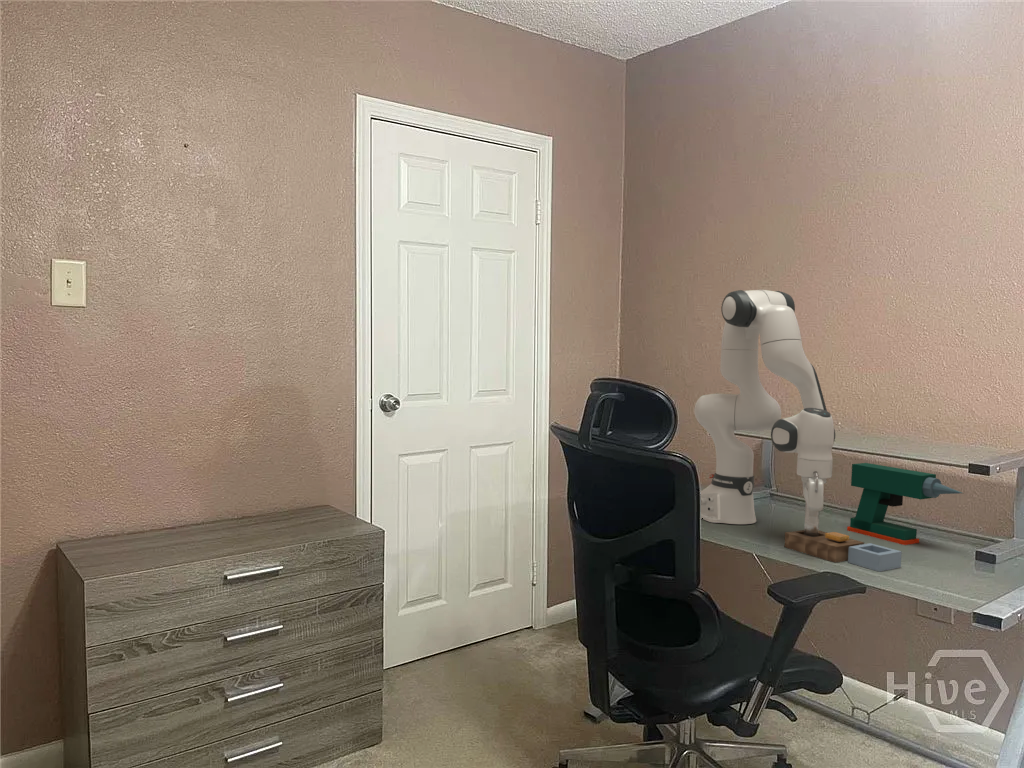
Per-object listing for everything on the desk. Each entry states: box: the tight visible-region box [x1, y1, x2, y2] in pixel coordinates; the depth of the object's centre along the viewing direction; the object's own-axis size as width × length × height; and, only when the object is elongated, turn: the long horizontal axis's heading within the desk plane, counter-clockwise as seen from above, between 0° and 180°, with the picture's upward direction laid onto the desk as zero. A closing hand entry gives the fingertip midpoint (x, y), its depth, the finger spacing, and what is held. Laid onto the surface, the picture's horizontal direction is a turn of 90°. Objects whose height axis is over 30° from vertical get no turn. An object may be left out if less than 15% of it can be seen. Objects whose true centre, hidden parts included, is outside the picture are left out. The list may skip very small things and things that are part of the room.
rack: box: [847, 543, 903, 573], centre depth 193 cm, size 9×9×4 cm
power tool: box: [846, 462, 963, 546], centre depth 217 cm, size 32×7×20 cm, turn 30°
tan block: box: [825, 531, 850, 543], centre depth 200 cm, size 4×4×5 cm
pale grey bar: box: [803, 503, 820, 537], centre depth 207 cm, size 4×4×12 cm
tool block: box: [784, 529, 865, 564], centre depth 204 cm, size 16×11×4 cm
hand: (811, 520), depth 207 cm, fingers closed on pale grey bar, 4 cm apart
